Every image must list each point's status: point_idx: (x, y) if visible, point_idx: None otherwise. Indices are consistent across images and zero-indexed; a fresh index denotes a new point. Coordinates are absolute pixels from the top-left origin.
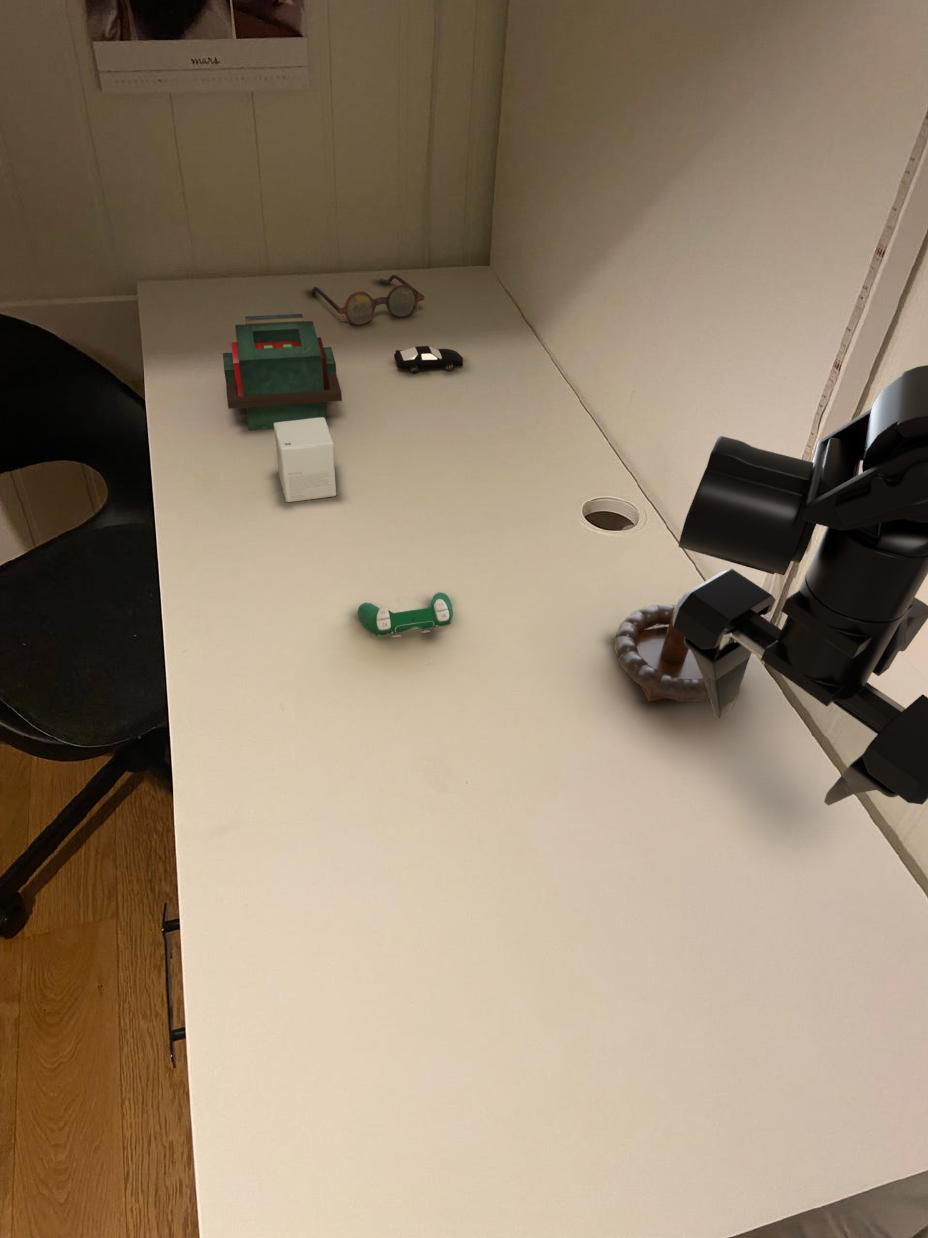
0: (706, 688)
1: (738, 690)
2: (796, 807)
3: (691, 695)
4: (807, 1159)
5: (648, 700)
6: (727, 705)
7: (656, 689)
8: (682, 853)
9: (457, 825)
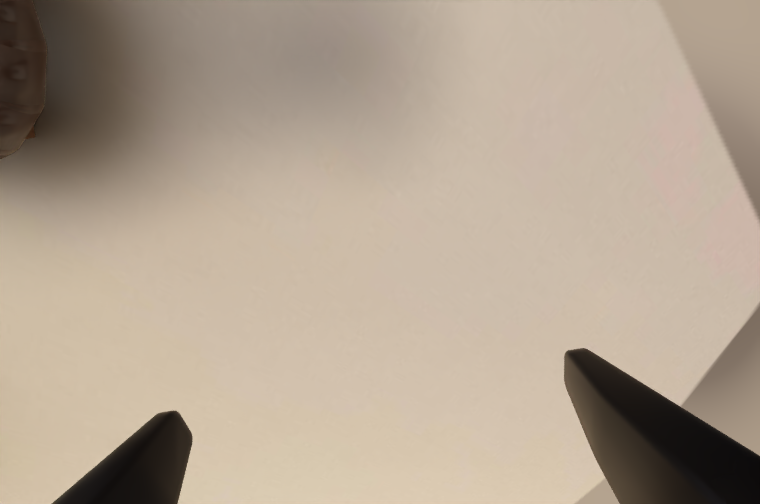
0: (9, 47)
1: (104, 494)
2: (358, 26)
3: (31, 90)
4: (684, 359)
5: (33, 137)
6: (159, 483)
7: (7, 153)
8: (351, 271)
9: (218, 454)
